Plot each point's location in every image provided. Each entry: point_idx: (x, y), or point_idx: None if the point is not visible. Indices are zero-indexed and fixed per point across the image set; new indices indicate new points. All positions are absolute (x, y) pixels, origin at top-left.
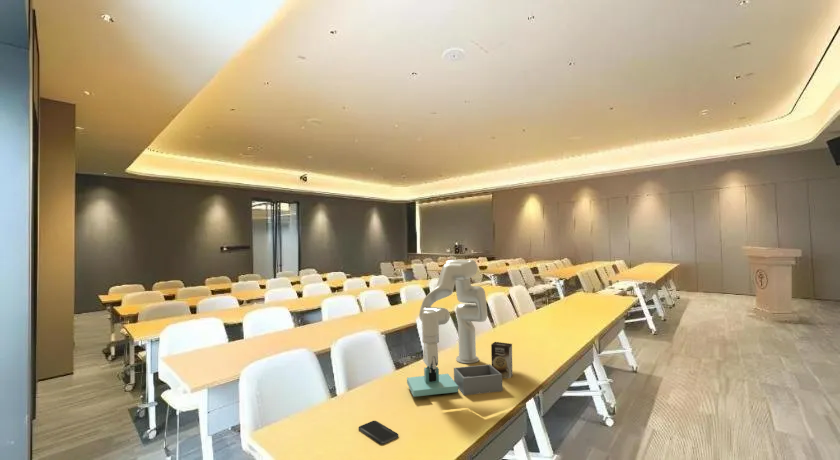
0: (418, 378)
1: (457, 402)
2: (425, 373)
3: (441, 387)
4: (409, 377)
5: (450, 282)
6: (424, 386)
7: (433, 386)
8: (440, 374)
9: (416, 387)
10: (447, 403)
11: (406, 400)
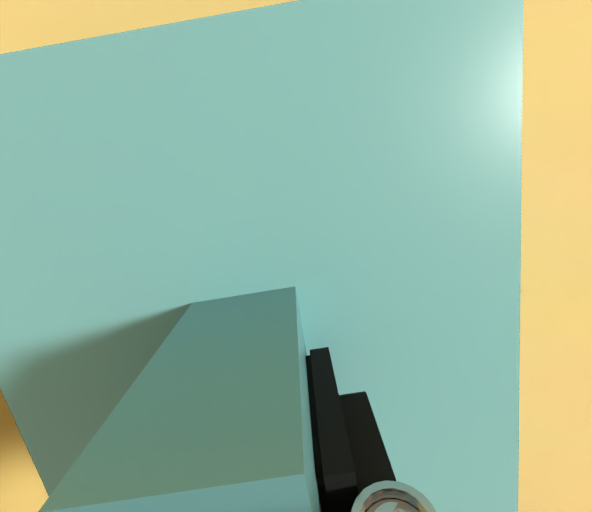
0: (427, 195)
1: (44, 496)
2: (140, 402)
3: (51, 483)
4: (519, 19)
5: None
6: (69, 276)
7: (78, 396)
8: (513, 502)
9: (15, 143)
10: (15, 427)
11: (46, 21)
